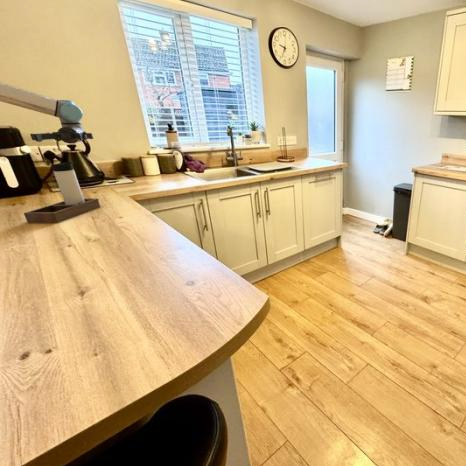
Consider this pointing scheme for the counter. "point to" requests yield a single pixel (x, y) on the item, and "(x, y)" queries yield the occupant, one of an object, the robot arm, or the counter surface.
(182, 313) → the counter surface
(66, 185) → the travel mug
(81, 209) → the tray
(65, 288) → the counter surface
